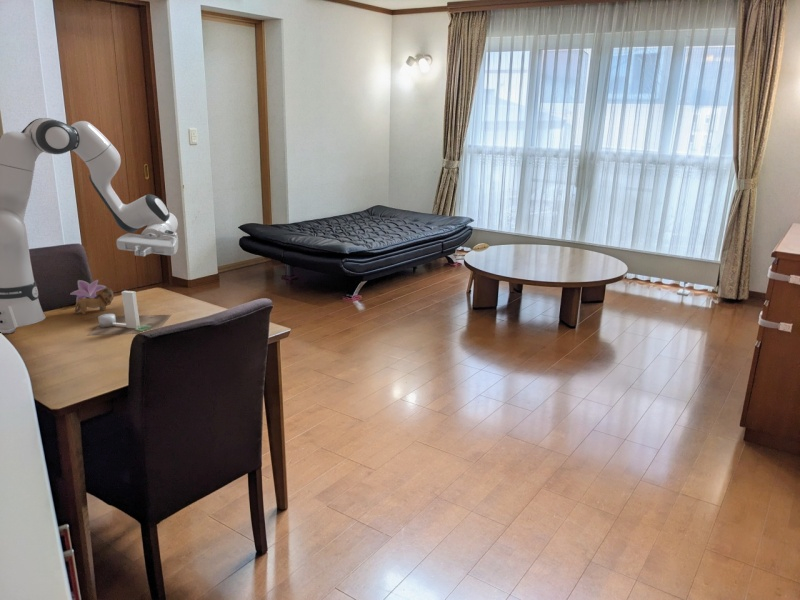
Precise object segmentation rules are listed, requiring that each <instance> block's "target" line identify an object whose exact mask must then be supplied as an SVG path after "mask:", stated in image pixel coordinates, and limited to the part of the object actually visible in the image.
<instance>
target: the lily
mask: <svg viewBox="0 0 800 600" xmlns="http://www.w3.org/2000/svg"><path fill="white" fill-rule="evenodd" d="M98 283H99V279H96V280H94V281H92V282H91V283H90V282H88V281H85V280H82V279H81V280H80V279H78V280H77V288H78V289H77V290H76V289H75V290H74V291H71V292H70V295H72V296H76V298H75V302H77V301H78V300H79V299H82V298H88V299H90V298H95V297H96V296H97V293H98V292H99V291H102V290H103V289H105V288H108V286H106V285H103V284H98Z"/></svg>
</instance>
